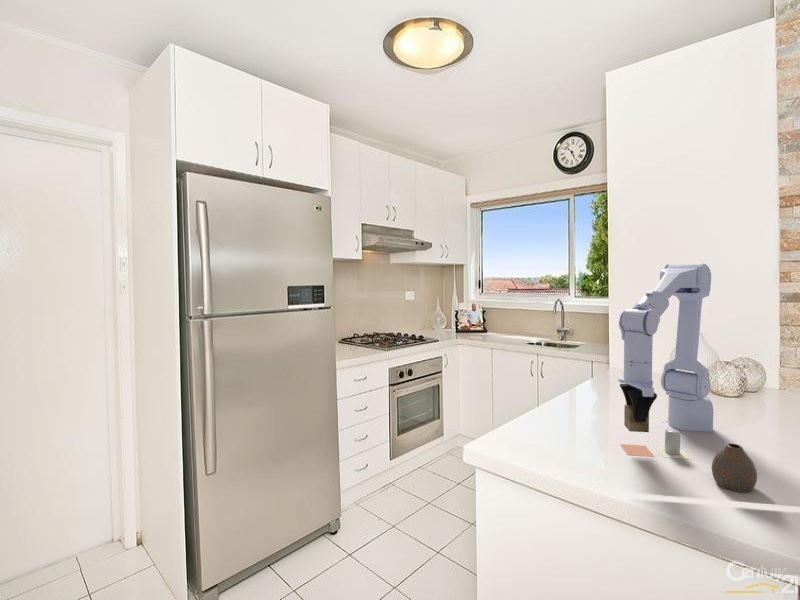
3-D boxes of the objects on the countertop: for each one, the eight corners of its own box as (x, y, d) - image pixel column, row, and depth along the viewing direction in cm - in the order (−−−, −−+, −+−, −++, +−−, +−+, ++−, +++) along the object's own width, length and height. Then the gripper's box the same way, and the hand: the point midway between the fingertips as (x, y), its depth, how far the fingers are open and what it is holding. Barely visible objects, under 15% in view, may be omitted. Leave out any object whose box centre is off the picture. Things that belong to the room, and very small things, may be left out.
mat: (678, 449, 100) (678, 445, 100) (693, 464, 92) (694, 461, 92) (618, 445, 103) (618, 442, 103) (628, 460, 95) (628, 456, 95)
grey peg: (676, 450, 98) (677, 429, 97) (682, 455, 95) (682, 434, 95) (662, 449, 98) (662, 428, 98) (667, 454, 96) (668, 433, 95)
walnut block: (642, 425, 99) (642, 405, 99) (648, 432, 96) (649, 410, 95) (624, 425, 100) (624, 404, 100) (629, 431, 96) (629, 410, 96)
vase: (702, 481, 85) (703, 439, 84) (734, 479, 86) (735, 437, 85) (732, 500, 78) (733, 454, 78) (766, 497, 79) (768, 452, 78)
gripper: (610, 354, 105) (610, 407, 106) (628, 367, 91) (628, 428, 92) (641, 354, 103) (640, 408, 104) (665, 368, 89) (663, 430, 90)
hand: (637, 418), depth 98 cm, fingers closed on walnut block, 4 cm apart
